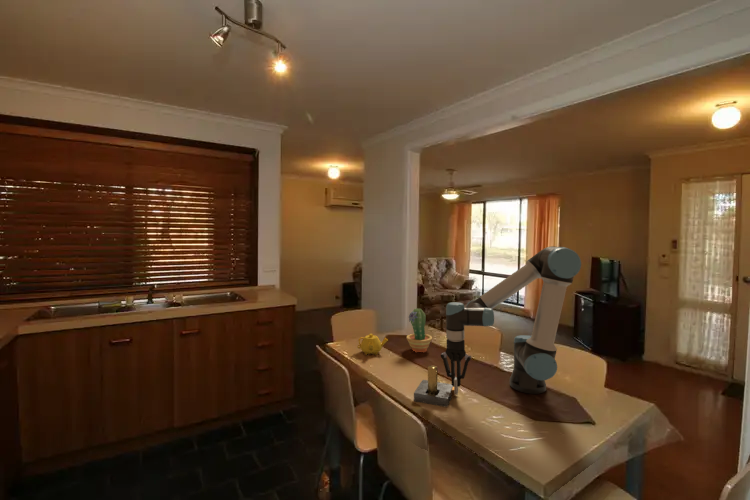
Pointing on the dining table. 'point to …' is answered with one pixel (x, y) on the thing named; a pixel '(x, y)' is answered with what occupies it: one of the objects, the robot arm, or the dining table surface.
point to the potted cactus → (418, 331)
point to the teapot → (371, 344)
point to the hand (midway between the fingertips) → (456, 393)
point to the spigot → (432, 380)
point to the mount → (440, 399)
